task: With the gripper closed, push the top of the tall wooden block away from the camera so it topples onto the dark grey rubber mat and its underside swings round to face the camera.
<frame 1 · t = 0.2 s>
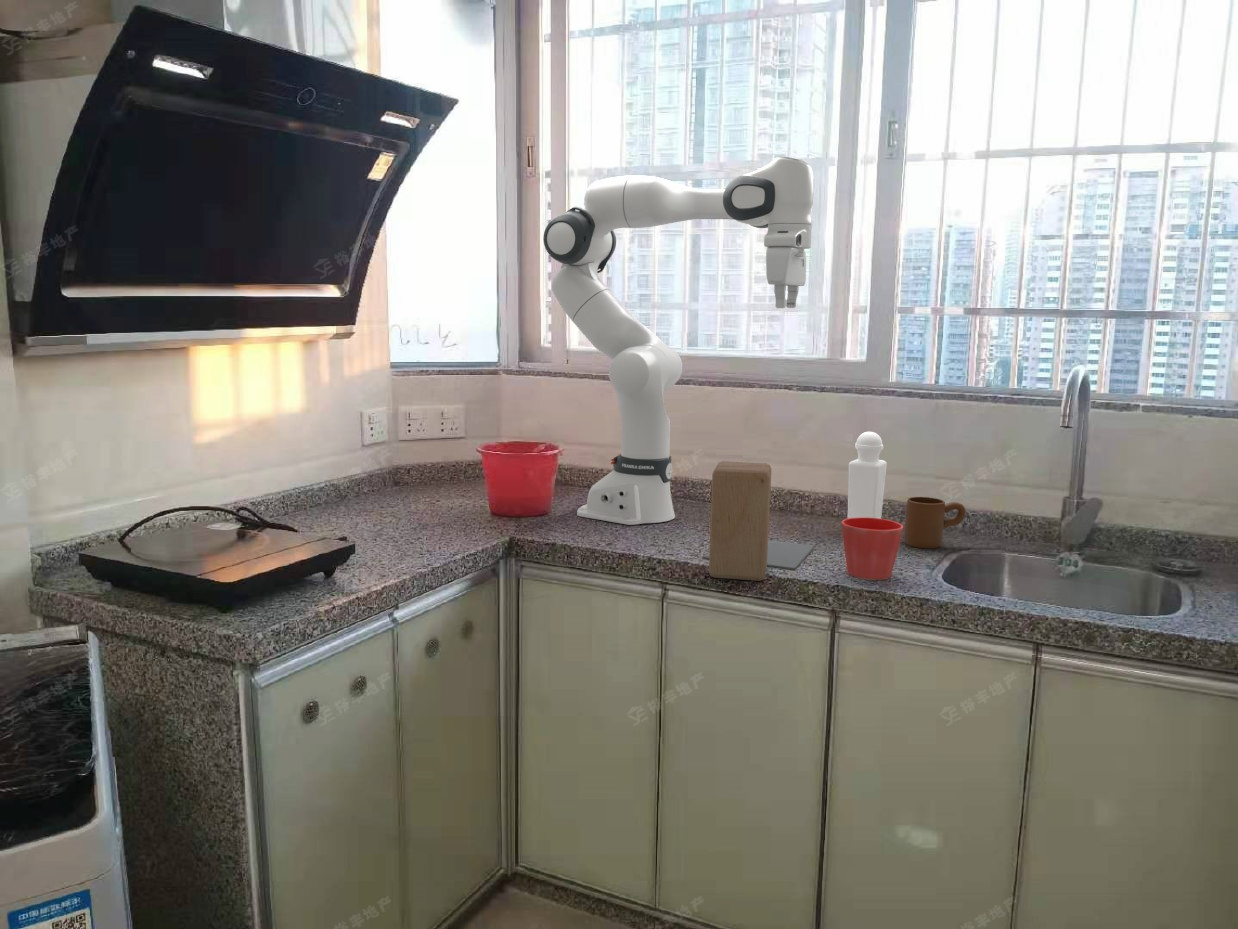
hand: (785, 308, 197), 48 cm above the worktop, fingers open, 8 cm apart
white bottle: (863, 532, 207), on the worktop
mug: (933, 545, 197), on the worktop
wooden block: (738, 574, 174), on the worktop
flower pot: (868, 575, 175), on the worktop
rubber mat: (759, 552, 188), on the worktop
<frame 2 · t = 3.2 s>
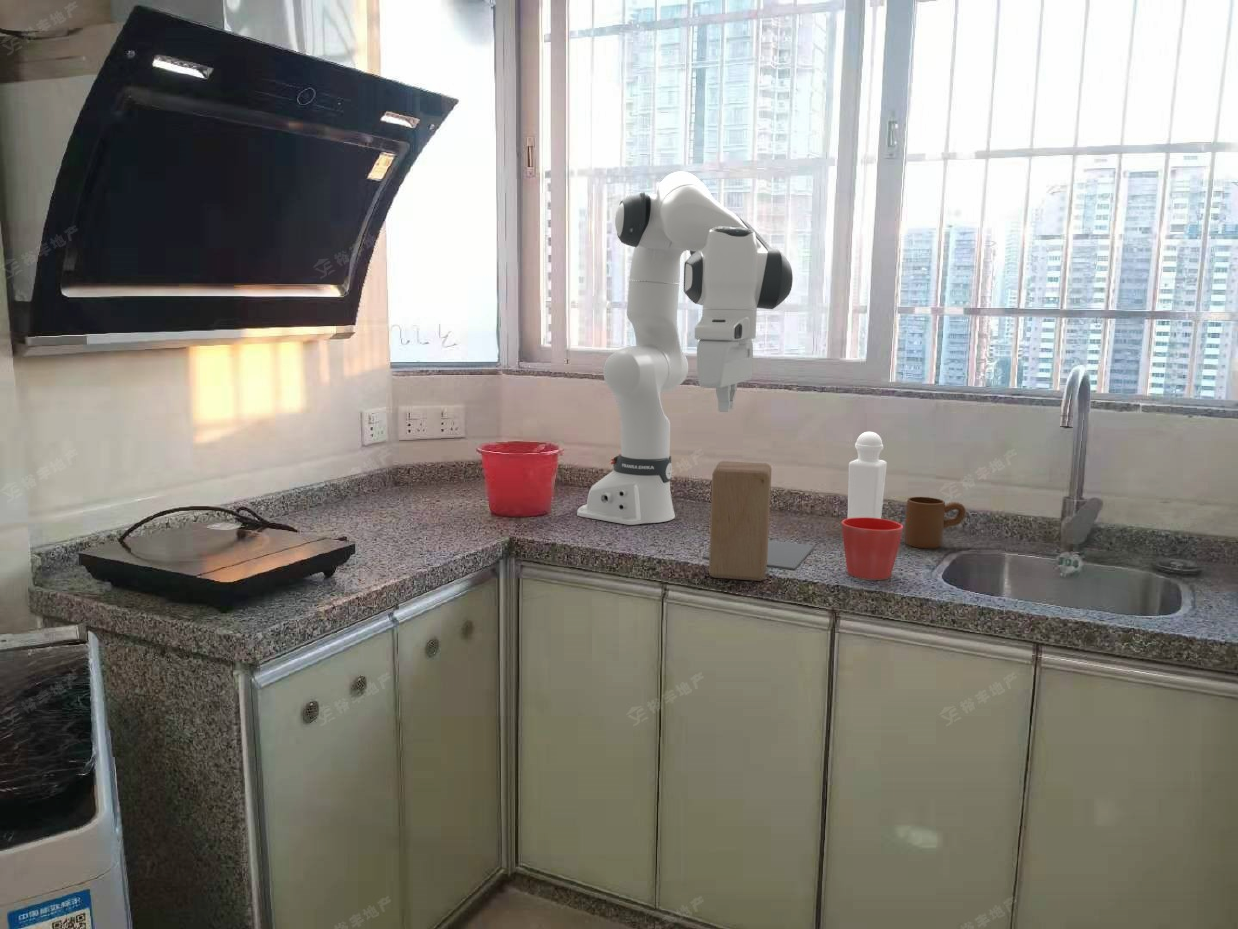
hand: (725, 411, 158), 31 cm above the worktop, fingers closed
nothing on the worktop moved.
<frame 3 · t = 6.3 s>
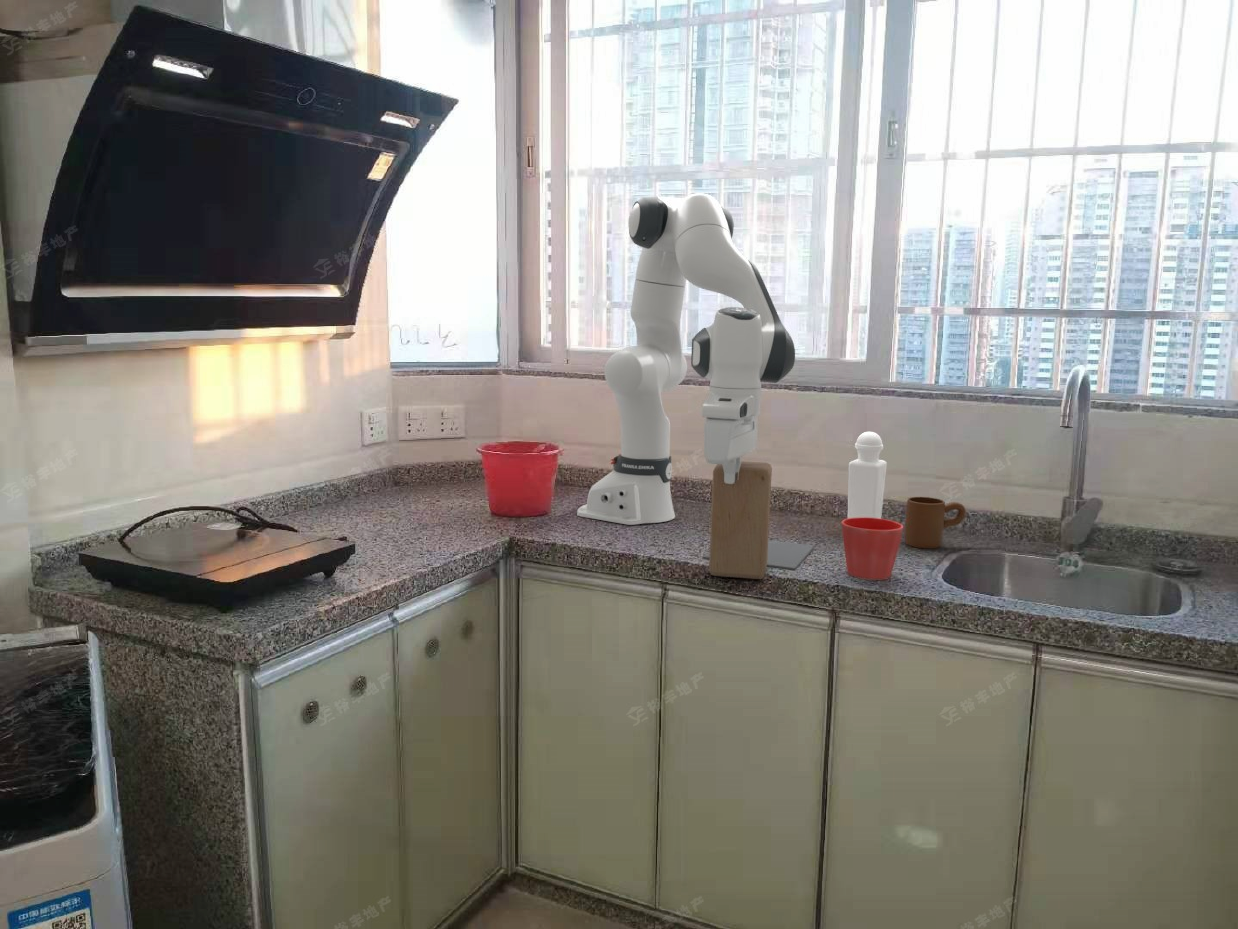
hand: (731, 482, 166), 18 cm above the worktop, fingers closed
wooden block: (738, 573, 174), on the worktop, touching gripper
everything else where it was.
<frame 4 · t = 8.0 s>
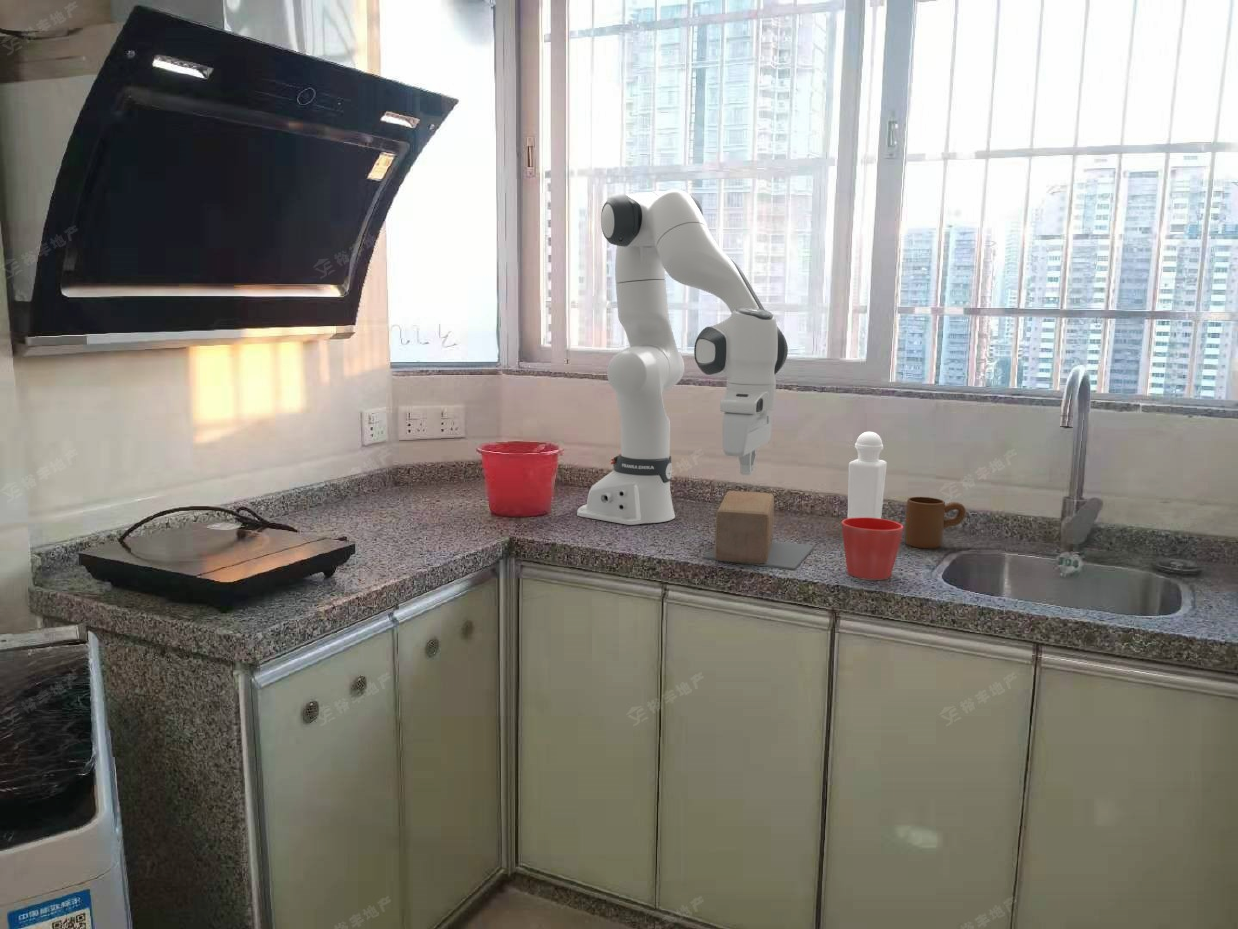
hand: (746, 473, 174), 18 cm above the worktop, fingers closed
wooden block: (741, 537, 178), point 5 cm above the worktop, touching rubber mat
everything else where it was.
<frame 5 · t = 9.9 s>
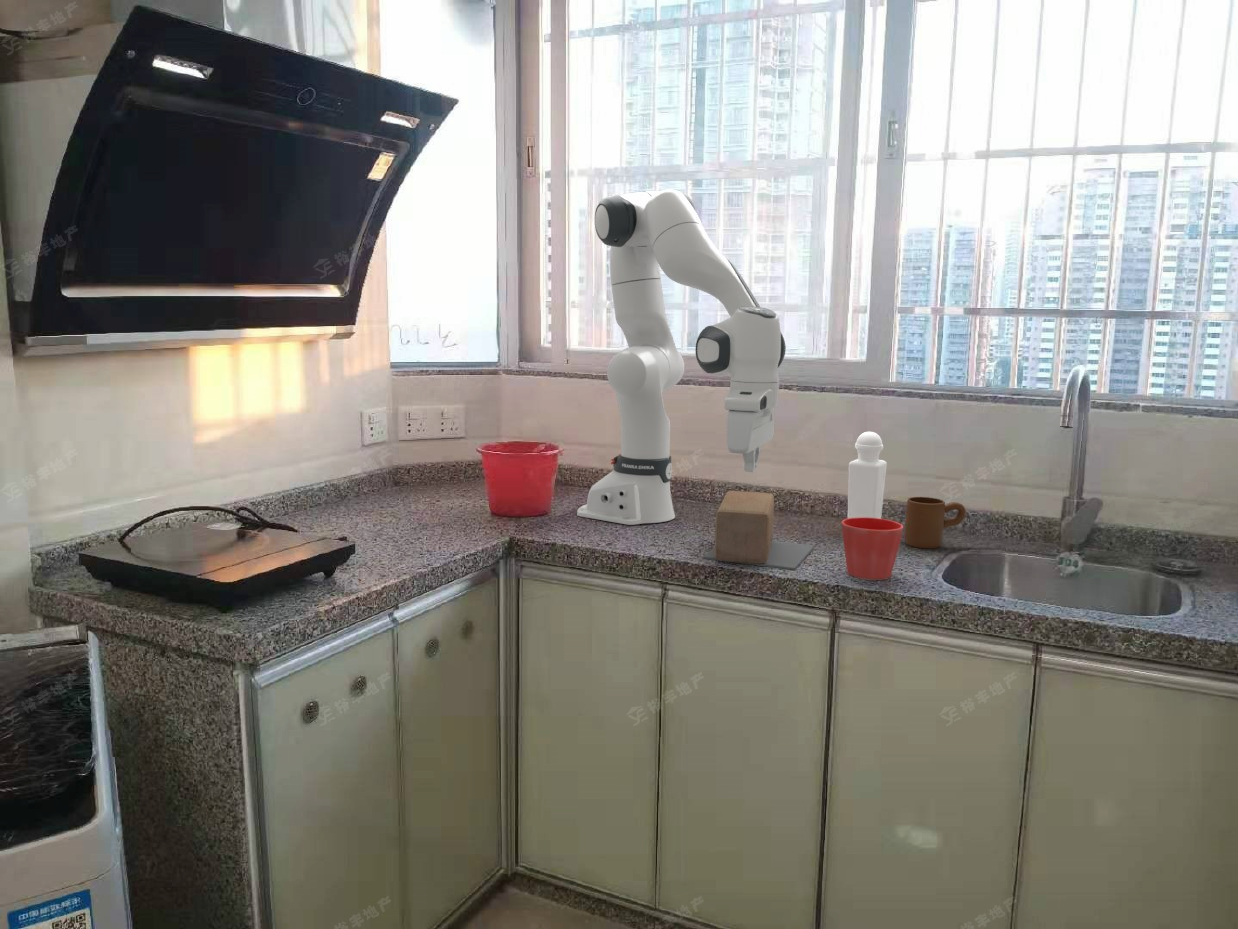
hand: (750, 470, 176), 18 cm above the worktop, fingers closed
nothing on the worktop moved.
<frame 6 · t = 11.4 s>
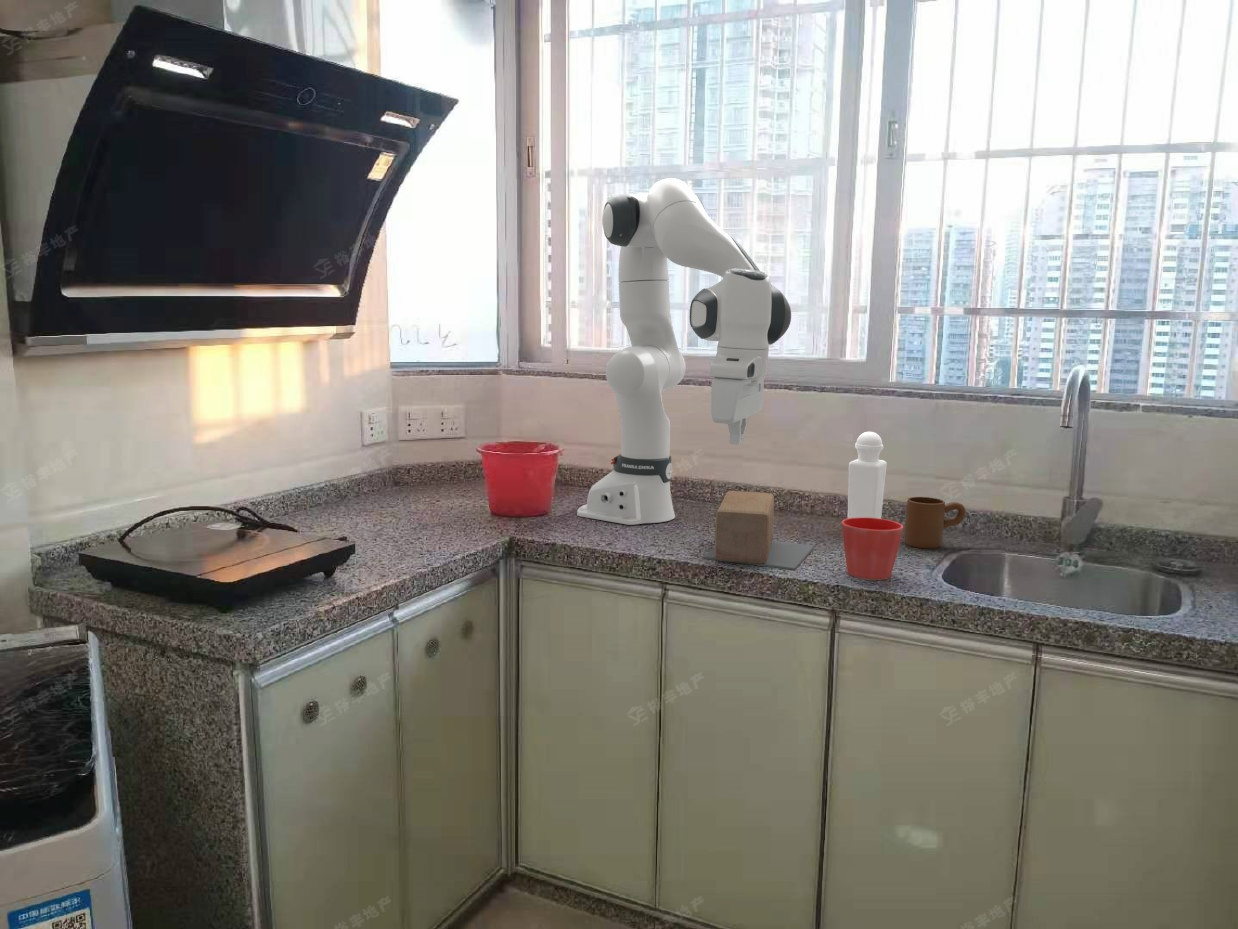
hand: (736, 443, 166), 25 cm above the worktop, fingers closed
nothing on the worktop moved.
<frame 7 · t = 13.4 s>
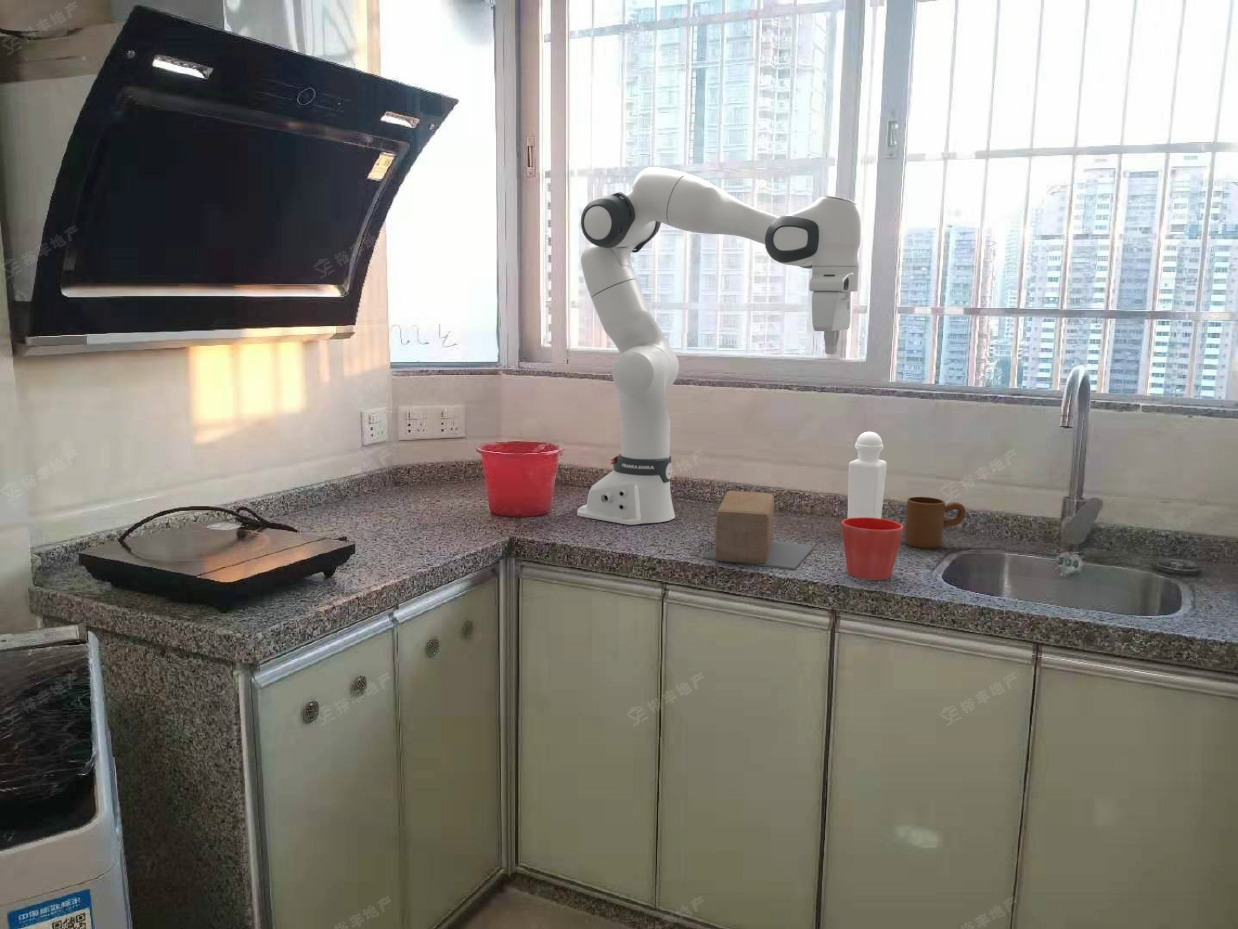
hand: (830, 353, 187), 39 cm above the worktop, fingers closed
nothing on the worktop moved.
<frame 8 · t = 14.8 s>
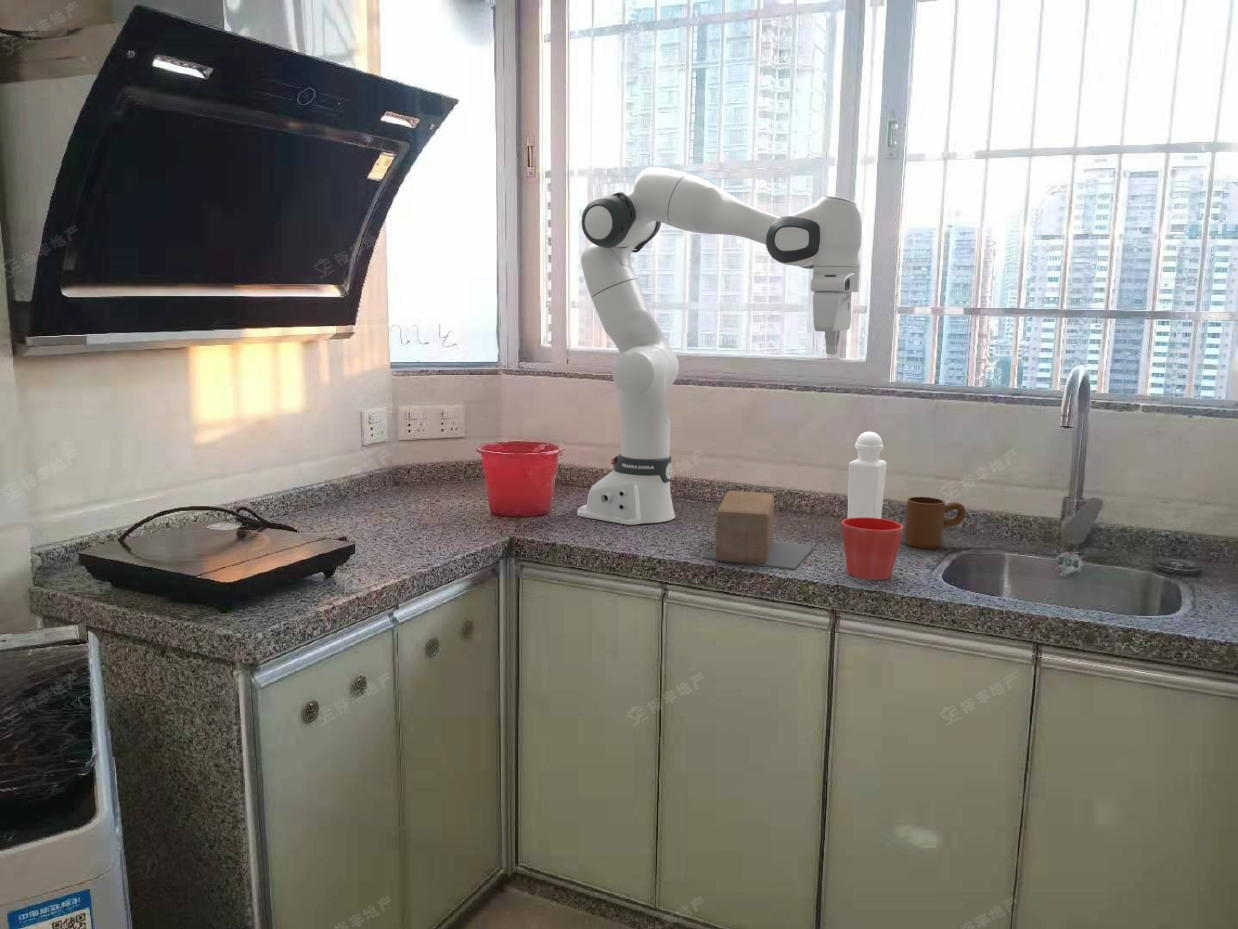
hand: (831, 354, 187), 39 cm above the worktop, fingers closed
nothing on the worktop moved.
at the end: wooden block tilted 90°; wooden block inside the target area (2.9 cm from its centre), point 5.4 cm above the worktop; wooden block moved 7.3 cm from its start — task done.
